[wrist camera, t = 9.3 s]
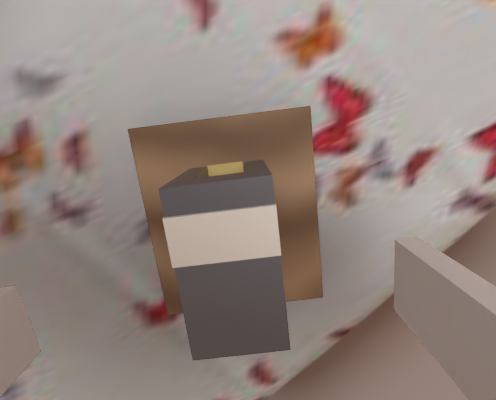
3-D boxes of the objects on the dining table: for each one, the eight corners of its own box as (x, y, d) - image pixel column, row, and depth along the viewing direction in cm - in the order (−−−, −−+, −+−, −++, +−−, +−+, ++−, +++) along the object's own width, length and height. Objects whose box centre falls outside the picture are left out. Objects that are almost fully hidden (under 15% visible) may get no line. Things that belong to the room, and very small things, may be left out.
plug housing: (189, 168, 19) (156, 189, 12) (263, 159, 19) (273, 175, 12) (209, 286, 21) (191, 363, 14) (276, 279, 21) (291, 352, 14)
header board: (136, 129, 20) (90, 128, 14) (305, 107, 20) (330, 97, 14) (172, 303, 23) (148, 360, 17) (318, 286, 23) (342, 339, 17)
